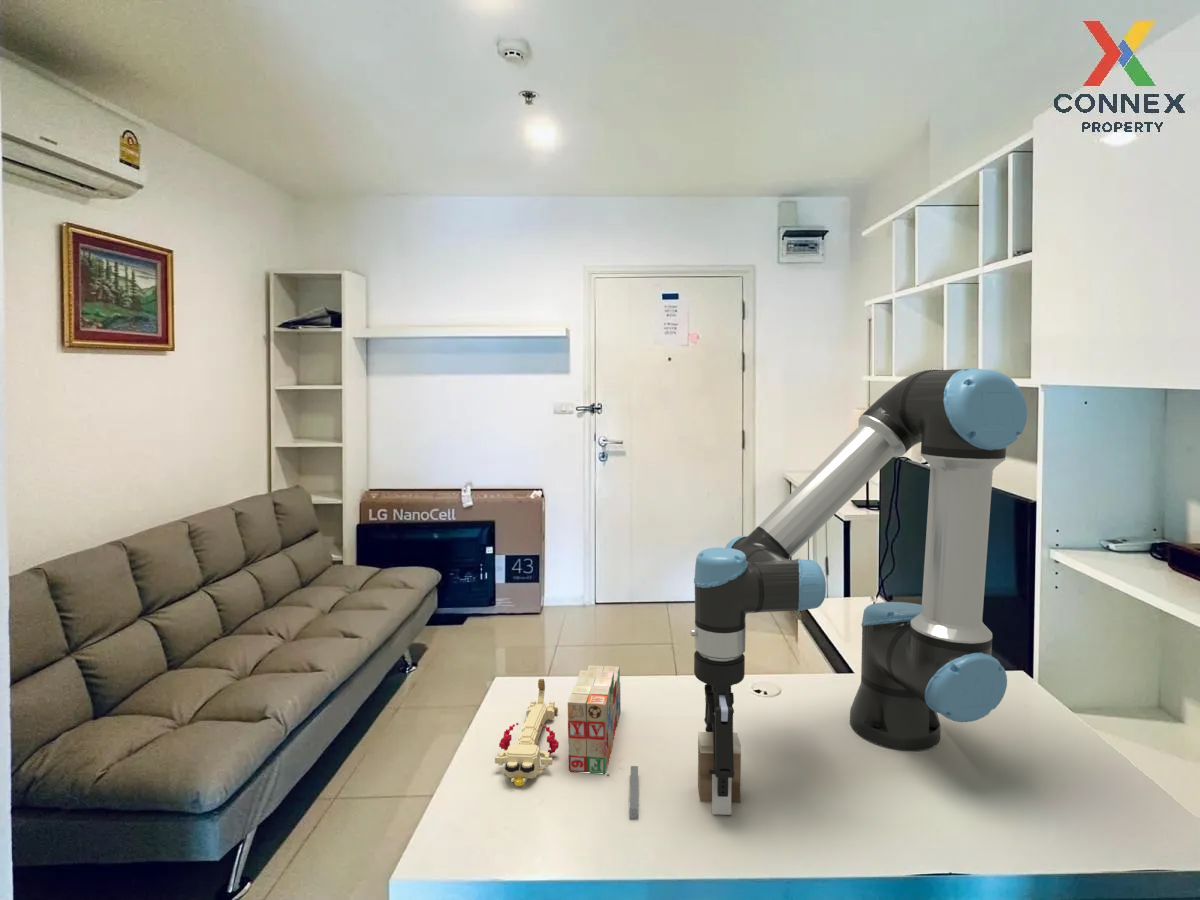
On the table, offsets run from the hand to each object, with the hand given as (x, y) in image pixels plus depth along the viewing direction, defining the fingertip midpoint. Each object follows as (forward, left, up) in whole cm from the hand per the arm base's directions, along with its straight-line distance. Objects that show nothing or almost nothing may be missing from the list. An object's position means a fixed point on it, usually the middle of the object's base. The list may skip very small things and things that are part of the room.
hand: (717, 793), depth 105 cm
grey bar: (+13, +1, 0) cm, 13 cm away
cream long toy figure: (+31, -12, -1) cm, 33 cm away
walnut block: (0, 0, 0) cm, 0 cm away
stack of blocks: (+20, -15, -1) cm, 25 cm away
